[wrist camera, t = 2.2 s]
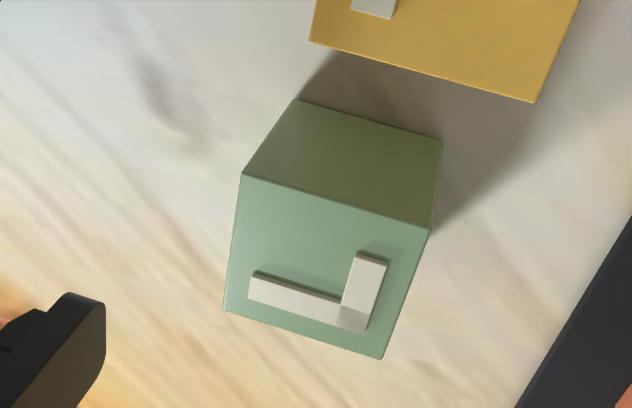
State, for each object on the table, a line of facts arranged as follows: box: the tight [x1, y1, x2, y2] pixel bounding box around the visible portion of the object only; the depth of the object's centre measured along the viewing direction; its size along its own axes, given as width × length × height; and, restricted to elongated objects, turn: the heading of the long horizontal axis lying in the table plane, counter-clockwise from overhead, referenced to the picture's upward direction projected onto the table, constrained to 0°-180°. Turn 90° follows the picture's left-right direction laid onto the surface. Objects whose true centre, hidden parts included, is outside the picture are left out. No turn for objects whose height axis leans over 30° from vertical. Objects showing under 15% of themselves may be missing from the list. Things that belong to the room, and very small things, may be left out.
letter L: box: [222, 99, 443, 360], centre depth 17 cm, size 5×5×5 cm
